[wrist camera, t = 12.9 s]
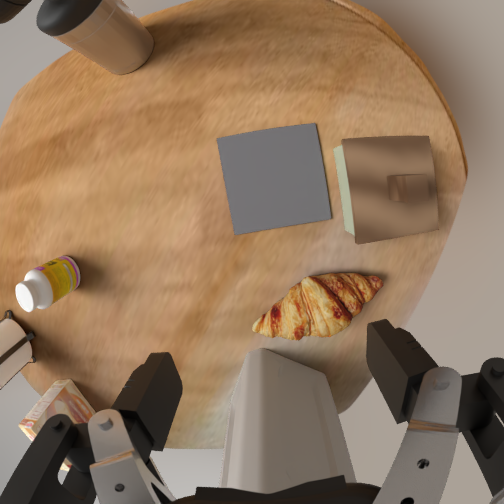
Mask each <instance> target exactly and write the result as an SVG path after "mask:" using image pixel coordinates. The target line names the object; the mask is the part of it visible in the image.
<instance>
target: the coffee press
mask: <svg viewBox="0 0 504 504" xmlns="http://www.w3.org/2000/svg"><path fill="white" fill-rule="evenodd" d="M7 312H9V319H5V318H6V316H7ZM11 315H12V313H11V311H10V310H7V311H6V312H5V315H4V318H3V319H2V320H3V321H2V320H0V390H1V389H2V388H3V387H4V385H6V383H8V382H9V381H10V380H11V379H12V378H13V377H14V376H15V375H16V374H17V373H18V372H19V371H20V370H21V369H22V368H23V367H24V366H25V365H26V364H27V363H35V362H36V359H35V357H32V348H31V344H30V342H29V340H31V339H33V338H34V337H35V334H34V332H33V331H31V332H29V333H27V334H25V332H24V331H23V329H22V328H21V327H20V326H19V325H18V324H17V323H16V322H15V321H13V320H11ZM31 358H32V359H33V362H28V361H29V360H30V359H31Z"/></svg>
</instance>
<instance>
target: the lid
mask: <svg viewBox="0 0 504 504" xmlns="http://www.w3.org/2000/svg"><path fill="white" fill-rule="evenodd" d="M341 143H342V148H343V153H344V159H345V165H346V171H347V177H348V184H349V191H350V198H351V206H352V215H353V224H354V233H355V243H356V244H364V243H370V242H375V241H381V240H386V239H392V238H398V237H403V236H409V235H414V234H419V233H425V232H430V231H436V230H439V220H438V202H437V190H436V180H435V172H434V164H433V157H432V151H431V145H430V139H429V136H384V137H364V138H350V139H342V140H341Z"/></svg>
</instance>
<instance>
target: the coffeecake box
mask: <svg viewBox="0 0 504 504" xmlns="http://www.w3.org/2000/svg"><path fill="white" fill-rule="evenodd" d="M95 413H96V412H95V410H94V409H93V408H92V407H91V405H90V404H89V403H88V402H87V400H86V399H85V398H84V396H83V395H82V394H81V392H80V391H79V390H78V388H77V387H76V385H75V384H74V383H73V381H72V380H71V379H66V380H56V381H55V382H54V384H53V385H52V386H51V387H50V388H49V389H48V390H47V392H46V393H45V394H44V395H43V396H42V397H41V399H40V400H39V401H38V402H37V403H36V405H35V406H34V407H33V408H32V409H31V411H30V412H29V413H28V414H27V415H26V417H25V418H24V419H23V420H22V421H21V423H20V424H19V427H20V428H21V429H22V431H23V432H24V433H25V434H26V435H27V436H28V438H29V439H30V440H31V441H32V442H33V440H34V439H35V437H36V436H37V434H38V433H39V431H40V430H41V428H42V426H43V425H44V424H45V422H46V421H47V420H48V419H49V418H50V417H52V416H54V415H56V414H66V415H68V416H69V417H70V419H71V420H72V421H73V423H74V424H78V423H88V422H89V420H90V418H91V417H92V416H93V415H94V414H95ZM71 465H72V464H71V463H70V462H69V461H68V460H67V459H66V458H65V460H64V462H63V464H62V466H61V468H60V469H62V470H65V471H69V469H70V467H71Z"/></svg>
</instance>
